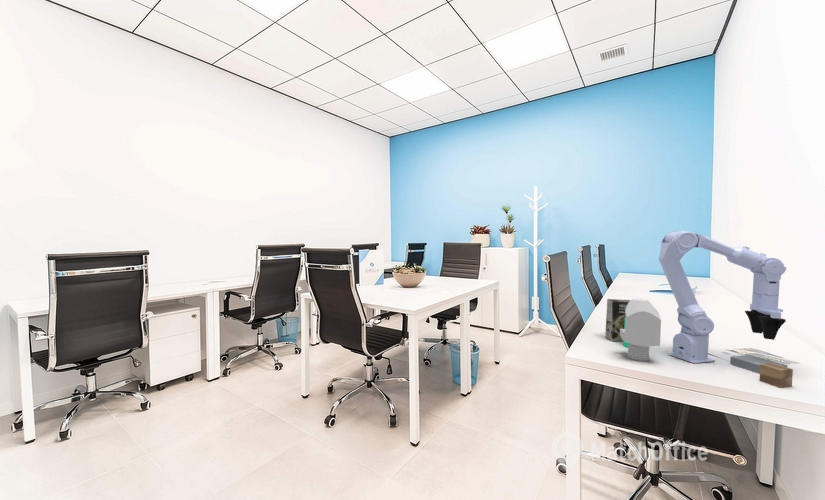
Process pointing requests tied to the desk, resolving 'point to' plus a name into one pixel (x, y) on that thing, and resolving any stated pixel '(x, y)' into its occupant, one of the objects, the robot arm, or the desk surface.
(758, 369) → the plinth
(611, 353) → the desk surface
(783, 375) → the block
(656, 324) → the light fixture
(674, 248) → the robot arm
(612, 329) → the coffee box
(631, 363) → the desk surface
